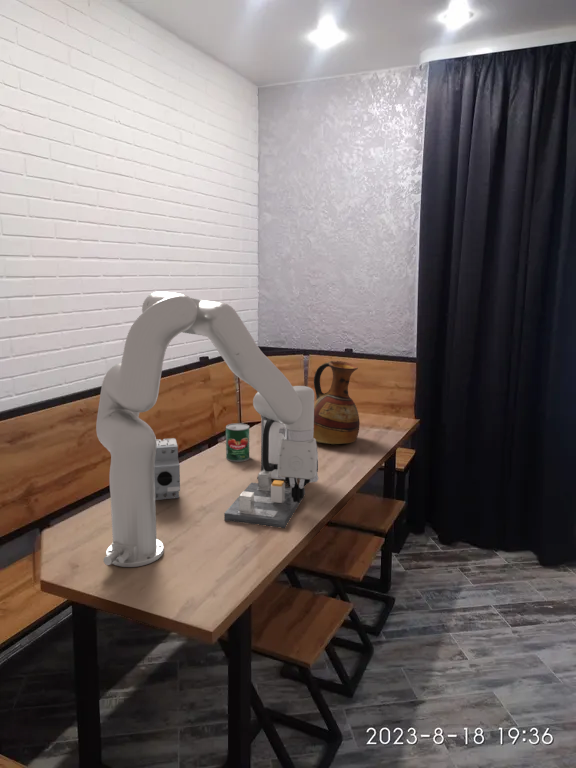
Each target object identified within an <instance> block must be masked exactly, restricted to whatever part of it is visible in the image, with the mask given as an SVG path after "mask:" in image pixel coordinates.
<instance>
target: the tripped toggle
mask: <svg viewBox="0 0 576 768" xmlns="http://www.w3.org/2000/svg"><path fill="white" fill-rule="evenodd" d="M285 486H286V482H285V480H281V479H274V480H273V482H271V502H278V503H282V502H283V500H284V499H285Z"/></svg>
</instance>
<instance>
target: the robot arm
mask: <svg viewBox="0 0 576 768" xmlns="http://www.w3.org/2000/svg"><path fill="white" fill-rule="evenodd" d="M141 307H142V309H141V312H142V313H141V314H140V315H139V316H138V317H136V318H137V319H135V320H134V322H133V323H132V325H131V326H130V328H129V330H128V333H127V336H126V338H125V339H126V340H125V342H124V346H123V347H124V348H123V353H122V358H121V362H119V363H116V364H115V365H113V366H112V367H110V368H109V370H108V371H107V372H106V373H105V376H104V377H103V380H102V384H101V389H100V395H99V403H98V409H97V415H96V424H95V425H96V428H95V429H96V436H97V439H98V441H99V442H100V444H102V446H103V447H104V448H105V449H106V450H107V452H108V453H110V457H111V458H110V467H109V492H110V512H111V529H112V530H111V532H112V543H111V544H110V545H109V546H108V548H107V549H106V550H105V556H104V558H103V563H104V564H105V565H106V566H110V565H114V566H117V567H121V568H122V567H123V568H135V567H136V568H137V567H143V566H145V565H150V564H151V563H154V562H155V561H157V560H158V559H160V558H161V557H162V556H163V555H164V552H165V549H164V546H165V545H164V544H163V542H162V541H161V540H159V539H158V538H157V517H156V516H157V514H156V500H155V483H154V466H155V457H156V448H157V442H156V439H157V438H156V434H155V432H154V430H153V429H152V427H151V426H150V425H149V424H148V422H146V421H145V420H143V419H141V418H140V417H139V416H140V413H145V412H148V411H150V410H151V409H152V408H153V407H154V406H155V405H156V403H157V400H158V397H159V392H160V385H161V379H162V378H161V377H162V373H163V372H162V371H163V365H164V364H163V363H164V359H165V355H166V351H167V349H168V348H169V347H168V346H169V344H170V343H171V342H172V341H173V339H174V338H175V337H177V336H178V335H179V334H181V333H184V334H189V335H190V334H191V335H197V336H202V337H207V338H208V339H209V340H210V341H211V343H212V344H213V346H214V347H215V349H216V350H217V352H218V353H219V355H220V357H221V358H222V359H223V361H224V363H225V364H226V365H227V366H228V368H229V370H230V371H231V372H232V373H233V374H234V375H235V376H236V377H238V378H239V379H240V380H241V381H243V382H244V383H246V384H248V385H249V386H251V388H253V389H254V390H255V391H256V393H255V395H254V396H253V400H252V406H253V408H254V410H255V411H256V412H257V413H258V414H259V415H260V416H261V415H262V416H264V417H267V418H269V419H272V420H274V421H276V422H279V423H281V424H284V425H285V427H284V428H280V429H279V433H282V434H283V435H284V437H283V438H282V439H281V442H280V448H279V457H278V477H279V478H282V479H281V480H284V481H285V480H286V481H287V482H288V483H289V484H290V486H289V487H292V498H293V502H296V501H297V502H298V503H299V502H300V501H301V499H302V500H304V498H305V496H304V489H305V487H306V486H307V485H308V484H309V483H317V482H318V480H319V475H318V472H319V455H318V452H319V451H318V445H317V441H316V439H315V438H313V433H314V402H315V390H314V389H313V388H311V387H310V386H305V385H292V383H291V382H290V380H289V379H288V378H287V377H286V376H285V374H284V373H283V372H282V371H281V370H280V369H279V368H278V367H277V366H276V364H274V363H273V361H272V360H271V359H269V358H268V357H267V355H265V354H264V353H263V351H262V350H261V349H260V347H259V346H258V344H257V342H256V341H255V339H254V338H253V336H252V335H251V333H250V331H249V330H248V328H247V326H246V325H245V323H244V322H243V320H242V319H241V317H240V316H239V314H238V312H237V311H236V310H235V309H234V308H233V306H231V305H229V304H227V303H224V302H219V301H211V300H205V299H204V300H203V299H198V298H193V297H190V296H188V295H186V294H183V293H178V292H173V291H172V292H171V291H162V290H161V291H155V292H152V293H150V294H149V295H148V296H147V297H146V298H145V299H144V301H143V303H142V306H141ZM298 479H299V483H298ZM286 481H285V482H286ZM301 502H302V501H301ZM301 502H300V503H301Z"/></svg>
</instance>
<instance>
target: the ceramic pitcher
mask: <svg viewBox="0 0 576 768" xmlns="http://www.w3.org/2000/svg"><path fill="white" fill-rule="evenodd" d="M328 367H329V368H330V369H331V372H332V382H331V386H330V388H329V389H328V391H327V392H323V391H322V387H321V377H322V374H323V371H324V370H325V369H326V368H328ZM357 370H358V366H356V365H355V364H352V363H349V362H346V361H342V360H341V361H340V360H331V361H328V362H324V363H322V364H321V365H319V366H318V368H316V371H315V373H314V376H313V387H314V393H315V395H316V396H315V397H316V398H315V400H314V433H313V438H315V439H316V443H321V444H328V445H330V444H331V445H343V444H351V443H354V442H355V441H356V440H357V439H358V436H359V431H360V426H361V423H360V416H359V415H360V414H359V411H358V407H357V405H356V403H355V402H354V400H353V399H352V398H351V397H350V396H349V395H350V394H349V389H348V388H349V385H350V379H351V377H352V375H353V373H354V372H355V371H357Z"/></svg>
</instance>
